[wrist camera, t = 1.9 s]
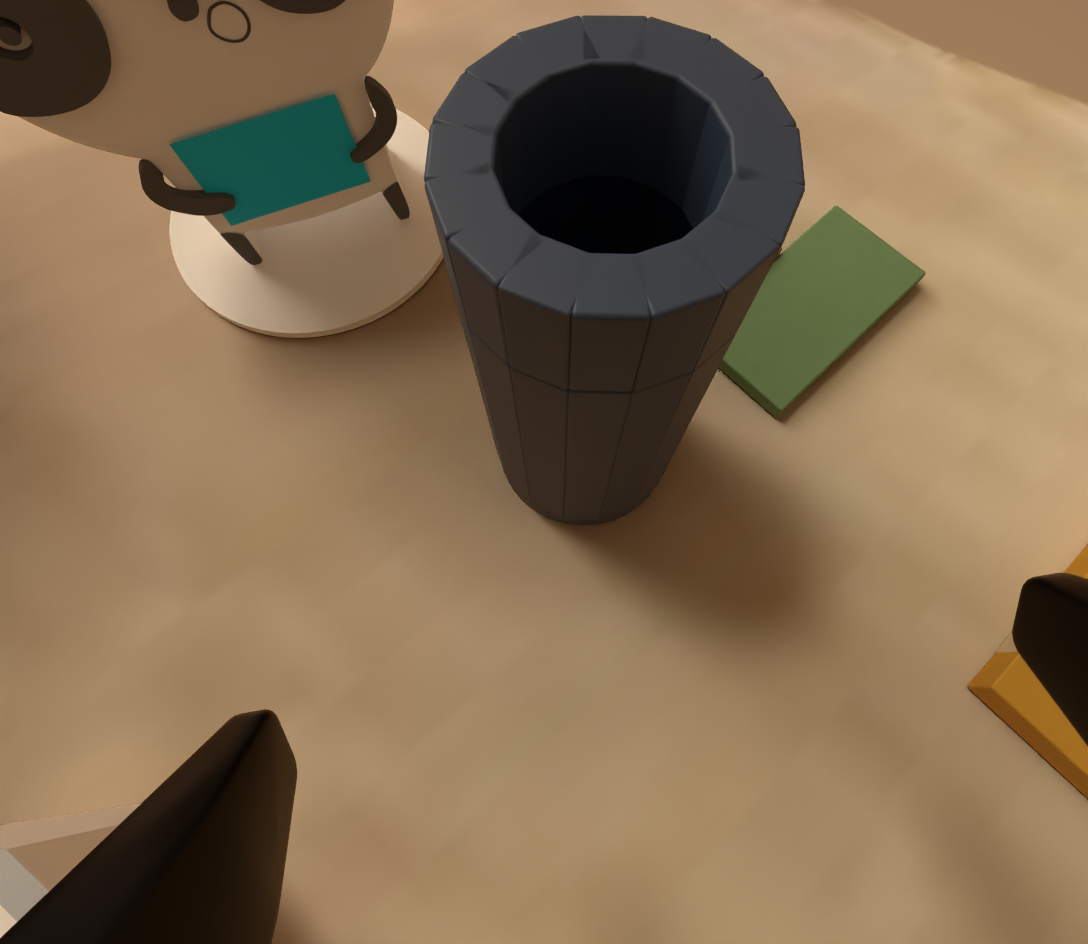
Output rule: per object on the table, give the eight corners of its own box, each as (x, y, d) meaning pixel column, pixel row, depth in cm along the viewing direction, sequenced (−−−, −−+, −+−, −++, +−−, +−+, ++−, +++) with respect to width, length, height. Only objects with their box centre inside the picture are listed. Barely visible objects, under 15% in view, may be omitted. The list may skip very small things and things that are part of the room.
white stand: (184, 382, 23) (-418, -86, 9) (138, 151, 26) (-354, -460, 12) (495, 283, 24) (402, -283, 10) (412, 72, 27) (254, -580, 13)
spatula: (916, 283, 24) (931, 267, 23) (775, 419, 22) (784, 407, 21) (697, 116, 26) (702, 95, 25) (557, 226, 25) (557, 208, 24)
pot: (700, 448, 22) (883, 155, 10) (579, 561, 21) (610, 395, 8) (584, 339, 23) (614, -38, 11) (465, 440, 22) (349, 148, 10)
